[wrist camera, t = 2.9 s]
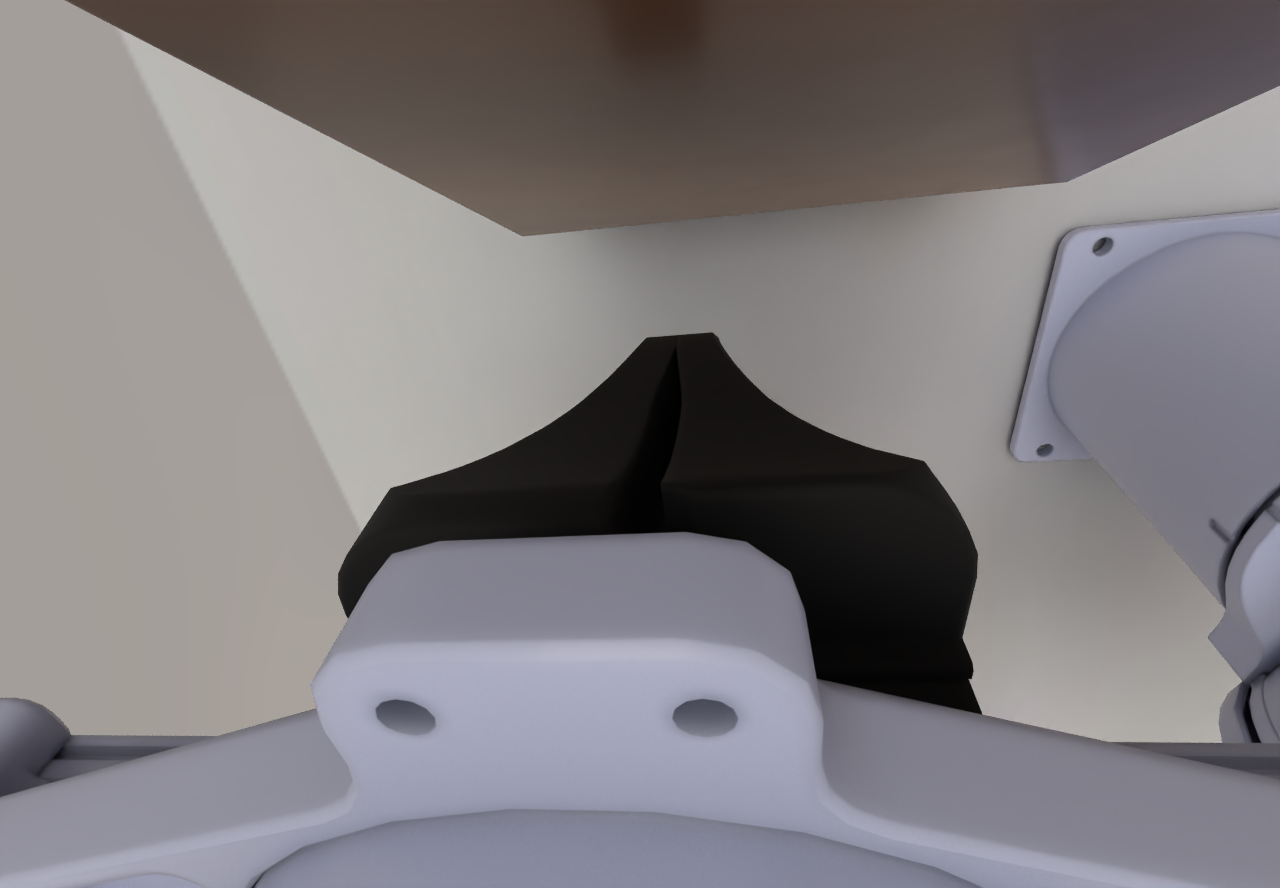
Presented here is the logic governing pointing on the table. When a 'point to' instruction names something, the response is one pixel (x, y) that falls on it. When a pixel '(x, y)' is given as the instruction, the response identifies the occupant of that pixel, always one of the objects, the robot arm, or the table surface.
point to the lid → (723, 92)
